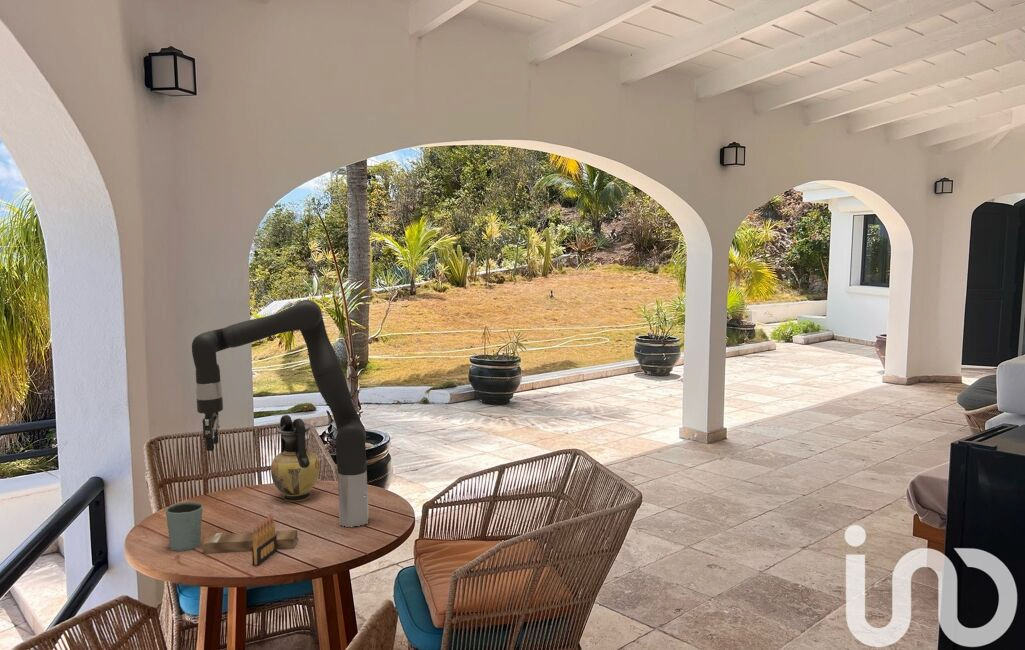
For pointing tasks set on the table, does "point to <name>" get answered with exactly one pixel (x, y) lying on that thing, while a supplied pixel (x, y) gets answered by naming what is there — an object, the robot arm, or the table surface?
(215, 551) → the plank
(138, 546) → the table surface
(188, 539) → the grey-green cup
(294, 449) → the amphora
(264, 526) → the ammunition clip
